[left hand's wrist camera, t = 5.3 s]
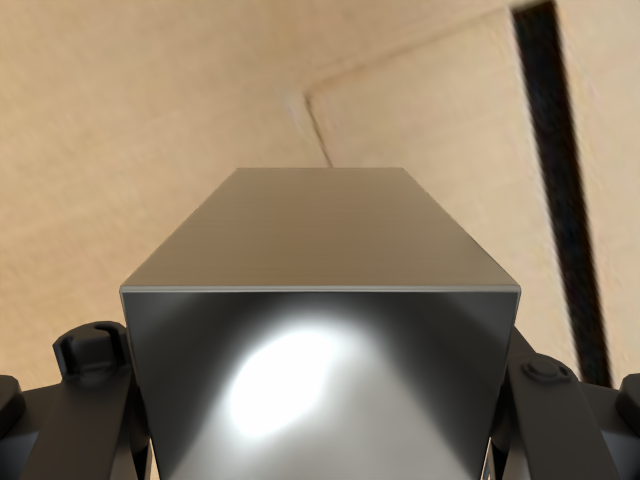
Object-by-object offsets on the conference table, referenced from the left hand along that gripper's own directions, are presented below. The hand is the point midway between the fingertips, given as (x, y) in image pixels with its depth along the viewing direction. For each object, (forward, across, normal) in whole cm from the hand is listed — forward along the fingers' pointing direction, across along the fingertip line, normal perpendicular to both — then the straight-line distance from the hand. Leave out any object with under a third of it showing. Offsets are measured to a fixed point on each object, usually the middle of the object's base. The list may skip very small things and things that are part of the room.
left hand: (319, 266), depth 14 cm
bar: (0, 0, -9) cm, 9 cm away
